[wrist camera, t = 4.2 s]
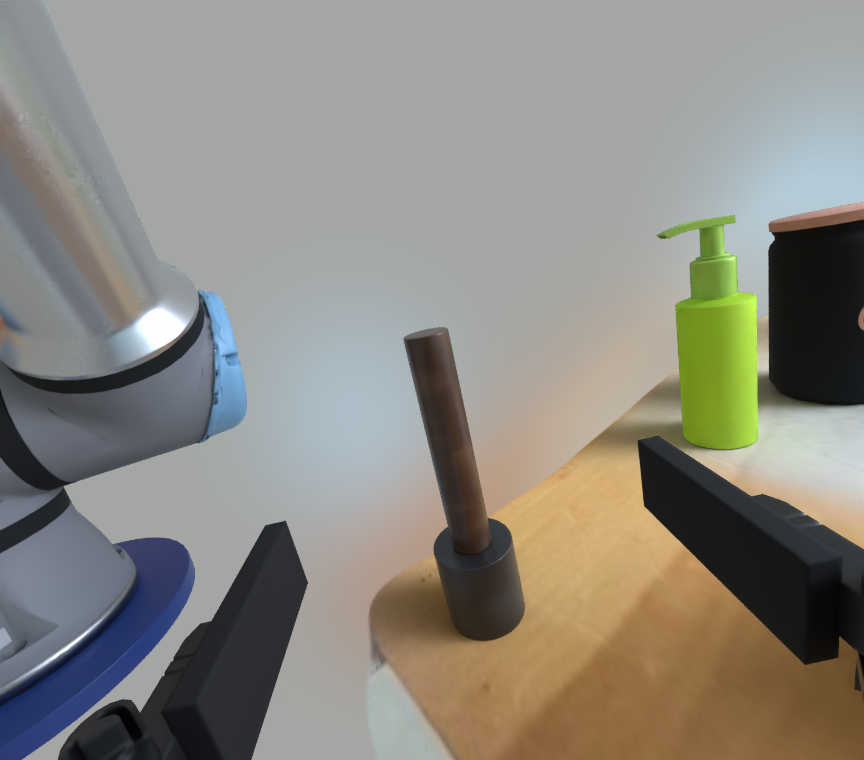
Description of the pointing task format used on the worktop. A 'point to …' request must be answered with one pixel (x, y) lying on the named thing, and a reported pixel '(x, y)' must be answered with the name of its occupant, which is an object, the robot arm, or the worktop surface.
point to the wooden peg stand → (463, 501)
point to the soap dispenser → (717, 346)
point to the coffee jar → (818, 305)
